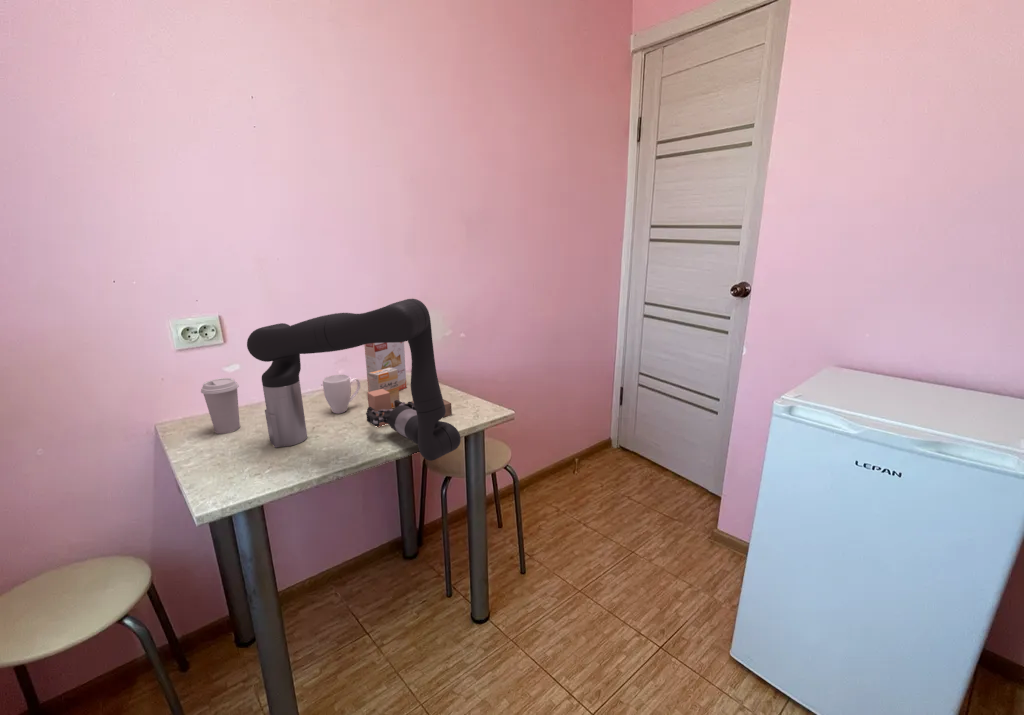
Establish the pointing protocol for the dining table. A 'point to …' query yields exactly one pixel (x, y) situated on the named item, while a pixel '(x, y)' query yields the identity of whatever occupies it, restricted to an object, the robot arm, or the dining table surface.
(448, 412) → the walnut base
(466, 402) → the dining table surface
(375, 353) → the cracker box
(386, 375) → the supplement box
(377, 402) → the terracotta block
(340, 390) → the mug
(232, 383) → the coffee cup
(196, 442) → the dining table surface
